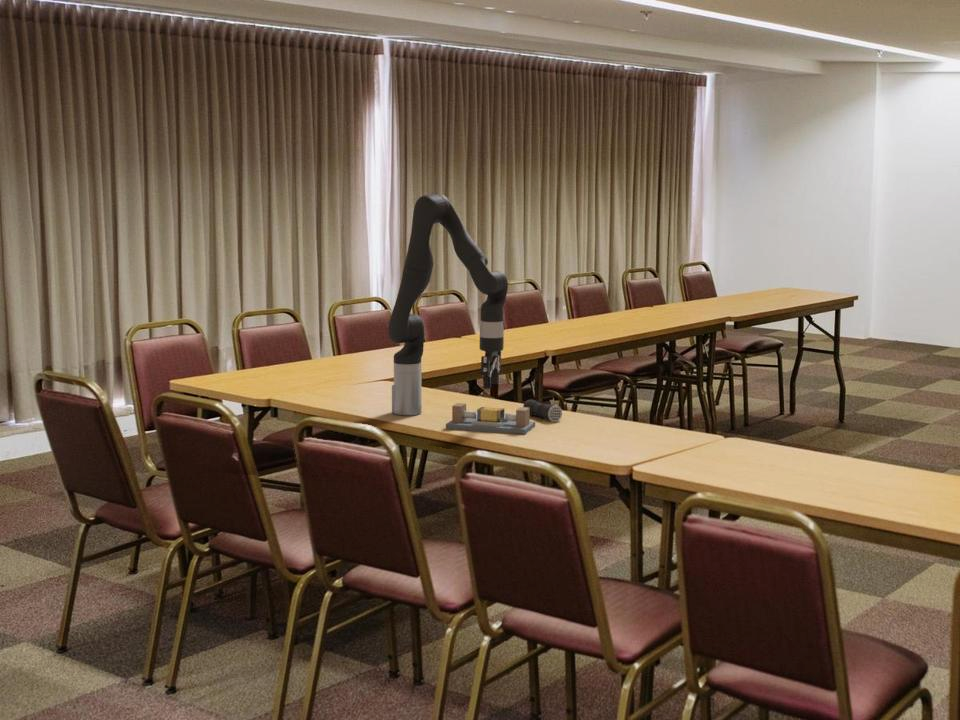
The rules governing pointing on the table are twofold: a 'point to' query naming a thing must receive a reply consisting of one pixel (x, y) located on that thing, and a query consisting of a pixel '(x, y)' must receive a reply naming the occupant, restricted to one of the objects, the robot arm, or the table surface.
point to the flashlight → (544, 410)
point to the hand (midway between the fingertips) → (490, 386)
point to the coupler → (490, 414)
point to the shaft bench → (510, 425)
